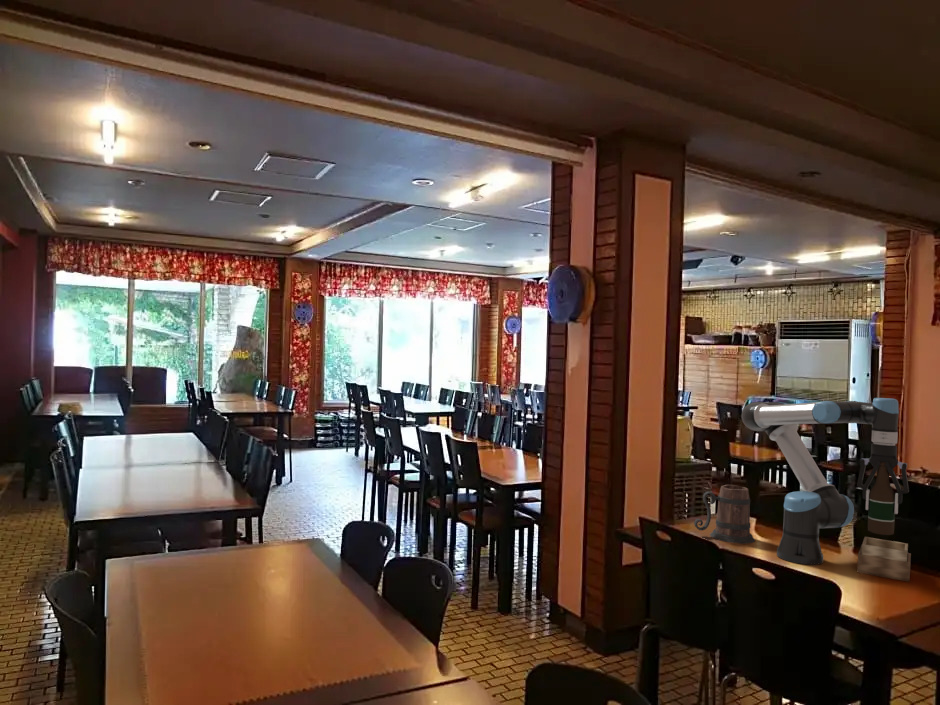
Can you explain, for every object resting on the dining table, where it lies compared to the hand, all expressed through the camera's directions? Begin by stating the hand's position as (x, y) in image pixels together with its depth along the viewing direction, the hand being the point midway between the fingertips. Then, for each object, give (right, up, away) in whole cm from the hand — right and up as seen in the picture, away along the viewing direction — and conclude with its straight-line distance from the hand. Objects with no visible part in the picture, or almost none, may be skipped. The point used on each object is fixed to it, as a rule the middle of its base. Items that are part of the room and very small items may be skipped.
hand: (881, 511), depth 236 cm
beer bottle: (0, -7, 0) cm, 7 cm away
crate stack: (+3, -21, +3) cm, 22 cm away
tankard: (-39, -20, +40) cm, 59 cm away
